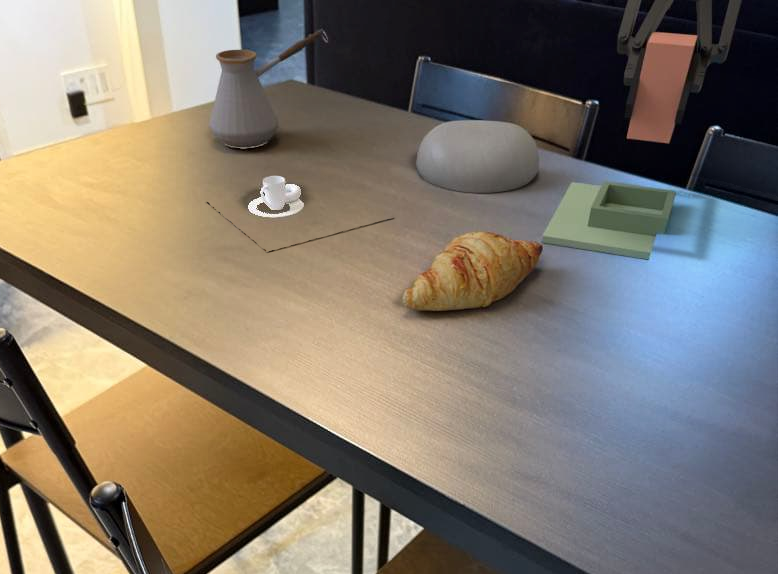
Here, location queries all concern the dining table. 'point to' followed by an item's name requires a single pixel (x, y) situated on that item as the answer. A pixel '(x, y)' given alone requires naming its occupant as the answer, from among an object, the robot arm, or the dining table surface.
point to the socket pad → (611, 218)
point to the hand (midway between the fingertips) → (653, 113)
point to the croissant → (473, 272)
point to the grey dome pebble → (478, 156)
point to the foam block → (661, 86)
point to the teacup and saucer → (277, 197)
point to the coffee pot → (246, 97)
